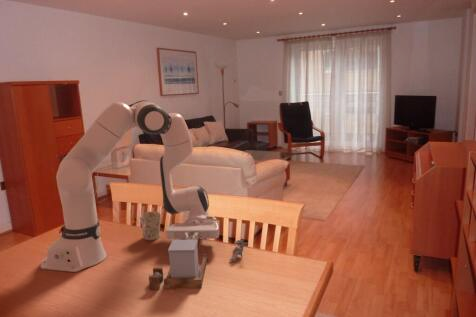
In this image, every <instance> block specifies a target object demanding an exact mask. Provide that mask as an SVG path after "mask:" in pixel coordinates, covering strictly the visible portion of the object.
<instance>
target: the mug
mask: <svg viewBox="0 0 476 317" xmlns="http://www.w3.org/2000/svg"><path fill="white" fill-rule="evenodd" d="M139 220H140V224H141V228H142V238H143V240H147V241H155V240H157V239H159V238H160V233H161V232H160V231H161V230H160V229H161V213H160V212H158V211H155V210H154V211H147V212H143V213H141V214H140V215H139Z"/></svg>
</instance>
